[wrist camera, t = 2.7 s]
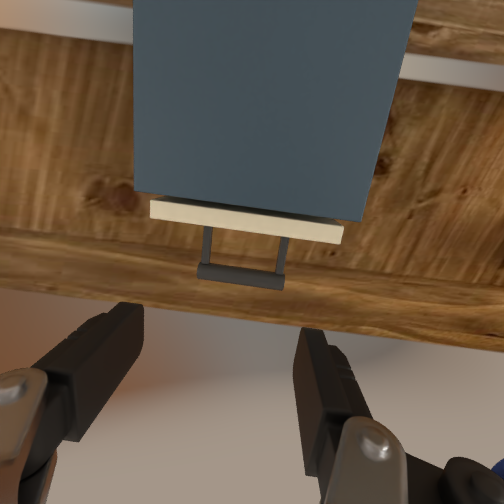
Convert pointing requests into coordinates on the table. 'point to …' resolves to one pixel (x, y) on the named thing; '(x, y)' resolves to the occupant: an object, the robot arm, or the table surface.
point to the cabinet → (265, 99)
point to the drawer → (250, 222)
